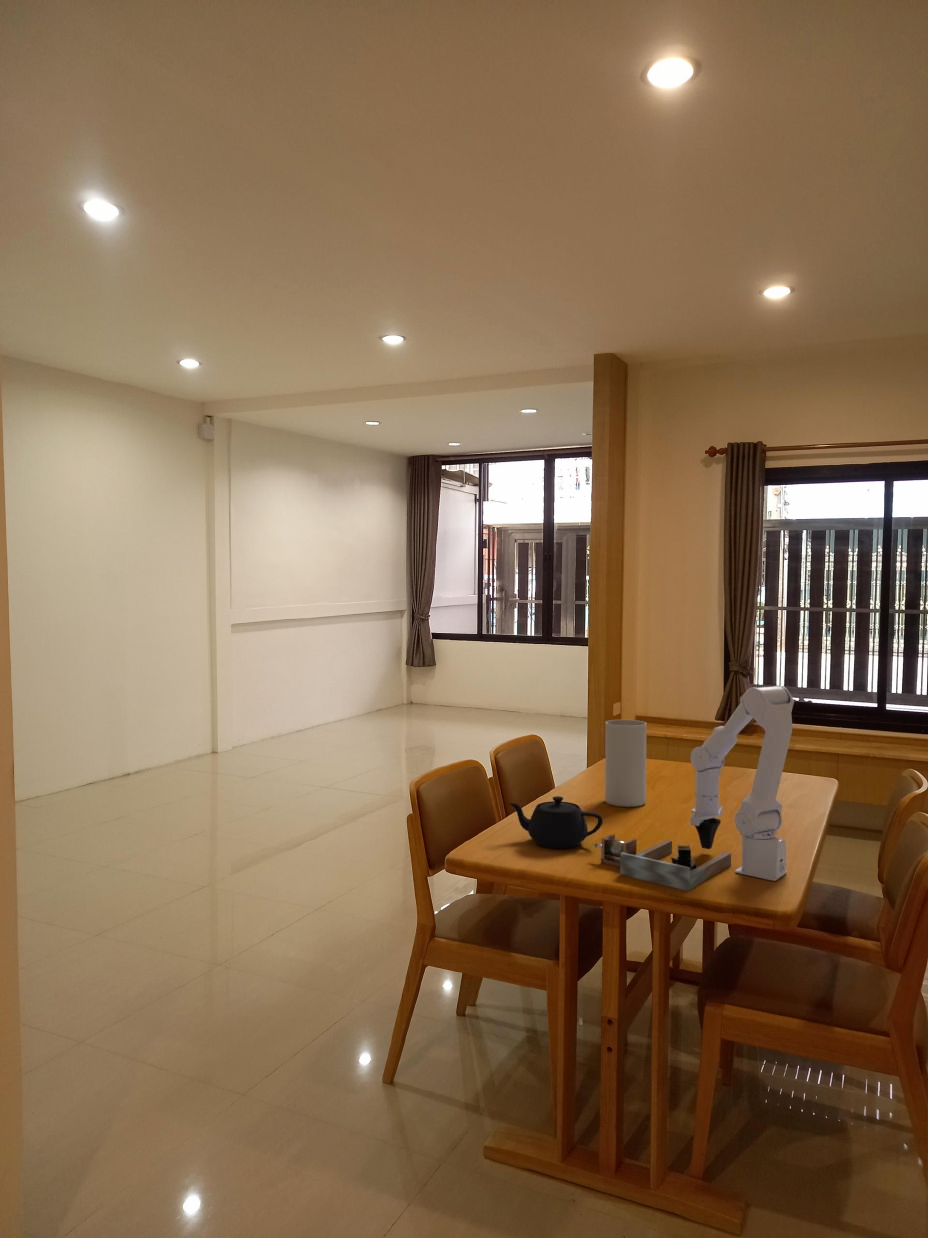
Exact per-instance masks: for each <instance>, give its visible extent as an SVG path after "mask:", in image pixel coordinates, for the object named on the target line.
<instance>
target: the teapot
mask: <svg viewBox="0 0 928 1238" xmlns="http://www.w3.org/2000/svg"><path fill="white" fill-rule="evenodd" d="M563 800H564V797H562V796H559V795H558V796H556V795H555V796H553V797H552V801H543V802H540V803H538V804H536V806H535V807H534V810H533V811H532V813H531V816H530V818H528V817H526V816H525V814H524V811H523V809H522V807H521V806H520V804H518V803H514V802H513V803H511V802H508V805H510V806H511V807H512V808H514V810H515V812H516V815H517V818H518V821H519V825H520V826H521V828H522V829H524V830H525V831H526V832H528V835H529V836H530V838H531V839H532V840H533V841H534V842H535V843H536V844H537V845H539V846H542V847H544V848H549V849H558V850H560V849H561V850H562V849H571V848H574V847H577V846H580V844H581V843H582V842H583V841H584V840H585V839H587V837H590V836H591V835H593V834H595V833H596V832H598V831H599V830H600V828H601V827H602V826H603V823H604V821H603V820H604V819H603V816H602V815H601V814H600V813H596V812H589V811H582V809H581V807H580V806H579V805H578V804H576V803H573V802H568V801H563ZM585 817H593V818H596V819H597V822H596V825H595V826H594V828H593V829H591V830H590V831H589V827H588V824H587V821H586V818H585Z"/></svg>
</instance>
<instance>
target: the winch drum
mask: <svg viewBox="0 0 928 1238" xmlns="http://www.w3.org/2000/svg"><path fill="white" fill-rule="evenodd" d="M600 841H601V844H600V843H594V848H596V849H600V851H601V852H600V853H601V855H600V856H601V857H600V863H601V864H605V865H608V866H613V867H618V868H620V858H621V853H622V852H623V853H628V854H632V855H636V854H637V838H631V839H629V840H628V841H627V840H626V841H623V840H619V839H616V834H614V833H610V834H609V835H607V836H604V837H602V838H601V839H600Z"/></svg>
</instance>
